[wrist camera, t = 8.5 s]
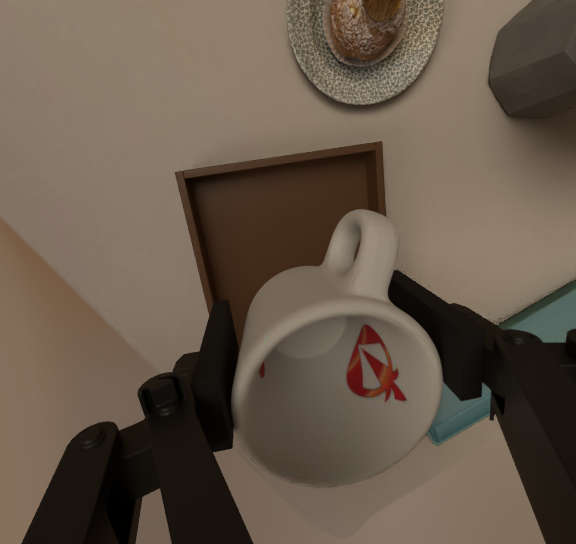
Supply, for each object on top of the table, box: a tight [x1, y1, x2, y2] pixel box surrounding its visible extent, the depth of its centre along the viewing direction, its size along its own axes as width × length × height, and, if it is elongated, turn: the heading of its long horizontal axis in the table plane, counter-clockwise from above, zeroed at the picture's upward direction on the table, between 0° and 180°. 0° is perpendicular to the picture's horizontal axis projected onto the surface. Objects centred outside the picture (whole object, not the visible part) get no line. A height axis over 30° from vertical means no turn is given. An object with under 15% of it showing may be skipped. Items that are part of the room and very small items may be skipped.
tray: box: [175, 141, 386, 357], centre depth 29 cm, size 16×18×3 cm
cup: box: [231, 209, 443, 488], centre depth 15 cm, size 11×8×8 cm
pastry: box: [287, 0, 444, 105], centre depth 23 cm, size 12×12×5 cm
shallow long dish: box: [427, 280, 576, 446], centre depth 35 cm, size 26×9×2 cm, turn 121°
